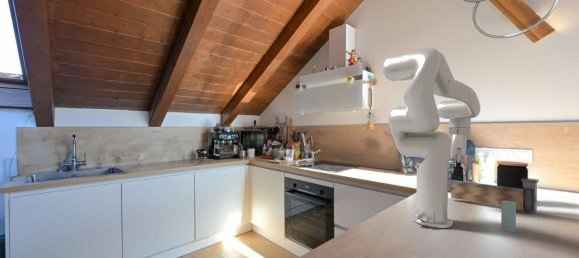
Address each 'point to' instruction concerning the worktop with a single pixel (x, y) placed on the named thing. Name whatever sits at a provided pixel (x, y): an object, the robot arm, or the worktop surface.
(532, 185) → the gate post
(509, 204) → the block
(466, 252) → the worktop surface
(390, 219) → the worktop surface
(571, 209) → the worktop surface
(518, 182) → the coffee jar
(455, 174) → the robot arm
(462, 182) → the gate
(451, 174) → the small box
